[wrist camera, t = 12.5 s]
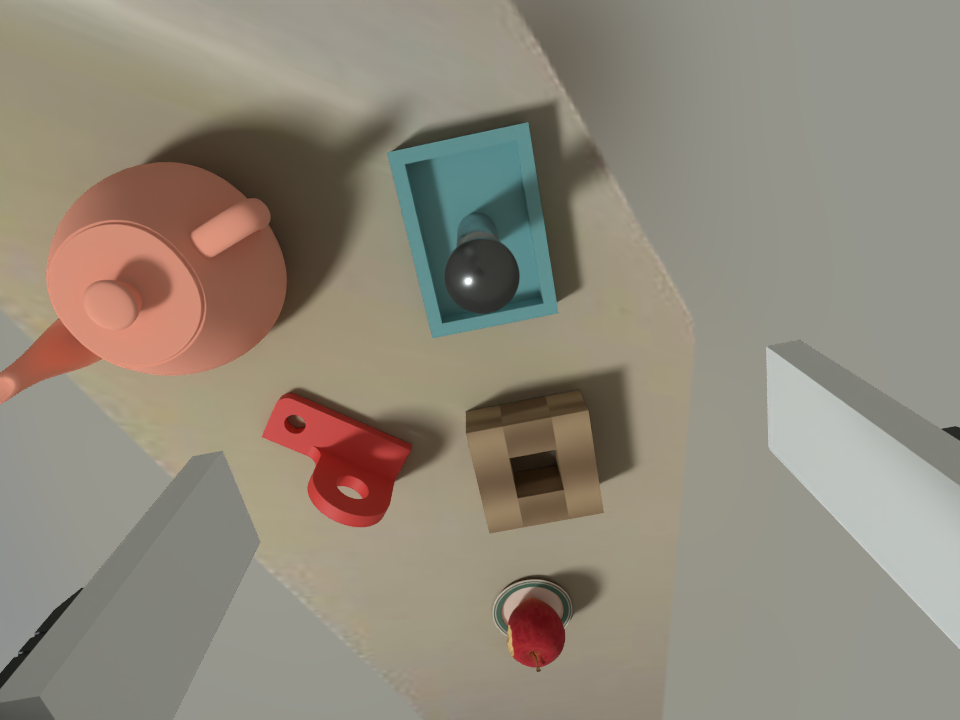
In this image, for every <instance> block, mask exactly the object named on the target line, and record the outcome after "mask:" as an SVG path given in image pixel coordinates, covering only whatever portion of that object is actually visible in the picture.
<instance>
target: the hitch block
mask: <svg viewBox="0 0 960 720" xmlns="http://www.w3.org/2000/svg"><path fill="white" fill-rule="evenodd" d="M466 436H467V440H468V444H469V448H470V453H471V457H472V461H473V465H474V469H475V474H476V478H477V482H478V486H479V491H480V495H481V499H482V503H483V508H484V512H485V516H486V520H487V524H488V529H489V533H494V532H500V531H505V530H511V529H516V528H522V527H527V526H533V525H539V524H544V523H550V522H555V521H561V520H566V519H572V518H577V517H583V516H588V515H594V514H599V513H604V512H603V505H602V498H601V491H600V485H599V478H598V471H597V464H596V458H595V451H594V444H593V437H592V431H591V424H590V417H589V410H588V408H587V406H586V404H585V401H584V399H583V397H582V394H581V392H580V390H576V391H570V392H565V393H560V394H555V395H550V396H544V397H539V398H534V399H529V400H523V401H518V402H513V403H508V404H503V405H497V406H492V407H487V408H482V409H476V410H471V411H466ZM551 450H555V455H556V461H557V465H555V466H549V467H544V468H538V469H533V470H528V471H522V472H517V473H514V471H513V466H512V461H511V458H514V457H519V456H524V455H530V454H535V453H540V452H546V451H551Z"/></svg>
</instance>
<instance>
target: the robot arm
mask: <svg viewBox="0 0 960 720" xmlns="http://www.w3.org/2000/svg"><path fill="white" fill-rule="evenodd" d="M766 354H767V355H766V356H767V401H768V443H769V444H768V445H769V449H770V450H771V451H772V452H773V453H774V454H775V456H777V458H778V459H779V460H780V461H781V462H782V463H783V464H784V465H785V466H786V467H787V468H788V469H789V470H790V471H791V472H792V473H793V474H794V475H795V477H796V478H797V479H798V480H799V481H801V483H802V484H803V485H804V486H805V487H806V488H807V489H808V490H809V491H810V492H811V493H812V494H813V495H814V497H815V498H816V499H817V500H818V501H819V502H820V503H821V504H822V505H823V506H824V507H825V508H826V509H827V510H828V511H829V512H830V513H831V514H832V515H833V517H834V518H835V519H836V520H837V521H838V522H839V523H840V524H841V525H842V526H843V527H844V528H845V529H846V530H847V531H848V532H849V533H850V534H851V535H852V536H853V538H854V539H855V540H856V541H857V542H858V543H859V544H860V545H861V546H862V547H863V548H864V549H865V550H866V551H867V552H868V553H869V554H870V555H871V556H872V557H873V559H874V560H875V561H876V562H877V563H878V564H879V565H880V566H881V567H882V568H883V569H884V570H885V571H886V572H887V573H888V574H889V575H890V576H891V577H892V578H893V580H894V581H895V582H896V583H897V584H898V585H899V586H900V587H901V588H902V589H903V590H904V591H905V592H906V593H907V594H908V595H909V596H910V597H911V598H912V600H913V601H914V602H915V603H916V604H917V605H918V606H919V607H920V608H921V609H922V610H923V611H924V612H925V613H926V614H927V615H928V616H929V617H930V618H931V620H932V621H933V622H935V624H936V625H937V626H938V627H939V628H940V629H941V630H942V631H943V632H944V633H945V634H946V635H947V636H948V637H949V638H950V639H951V641H952V642H953V643H954V644H955V645H956V646H957V647H958V648H959V649H960V428H959V427H956V426H955V427H949V428H944V429H940V428H939V427H937V426H935V425H934V424H932V423H931V422H929V421H927V420H926V419H924V418H923V417H921V416H920V415H918V414H916V413H915V412H913V411H912V410H910V409H908V408H907V407H905V406H903V405H902V404H900V403H899V402H897V401H896V400H894V399H893V398H891V397H889V396H888V395H886V394H884V393H883V392H881V391H880V390H878V389H877V388H875V387H874V386H872V385H870V384H869V383H867V382H866V381H864V380H862V379H861V378H859V377H857V376H856V375H854V374H853V373H851V372H850V371H848V370H847V369H845V368H843V367H842V366H840V365H839V364H837V363H835V362H834V361H832V360H831V359H829V358H828V357H826V356H824V355H823V354H821V353H820V352H818V351H816V350H815V349H813V348H812V347H810V346H809V345H807V344H805V343H804V342H802V341H801V340H797V341H791V342H786V343H781V344H775V345H770V346H766ZM259 544H260V540H259V537H258V535H257V532H256V530H255V528H254V525H253V523H252V520H251V518H250V516H249V513H248V511H247V508H246V506H245V504H244V501H243V499H242V496H241V494H240V492H239V489H238V487H237V484H236V482H235V479H234V477H233V475H232V472H231V470H230V467H229V465H228V463H227V460H226V458H225V455H224V453H223V451H219V452H214V453H209V454H204V455H199V456H193V457H192V458H191V459H190V460H189V461H188V463H187V464H186V465H185V466H184V467H183V469H182V470H181V471H180V472H179V474H178V475H177V476H176V477H175V478H174V480H173V481H172V482H171V483H170V484H169V486H168V487H167V488H166V489H165V490H164V492H163V493H162V494H161V495H160V497H159V498H158V499H157V500H156V501H155V503H154V504H153V505H152V506H151V507H150V509H149V510H148V511H147V512H146V513H145V515H144V516H143V517H142V518H141V520H140V521H139V522H138V523H137V524H136V526H135V527H134V528H133V529H132V530H131V532H130V533H129V534H128V535H127V536H126V538H125V539H124V540H123V541H122V542H121V544H120V545H119V546H118V547H117V549H116V550H115V551H114V552H113V554H112V555H111V556H110V557H109V558H108V559H107V561H106V562H105V563H104V564H103V566H102V567H101V568H100V569H99V570H98V572H97V573H96V574H95V575H94V576H93V578H92V579H91V580H90V581H89V582H88V584H87V585H86V586H85V587H84V588H81V589H80V590H78V591H77V592H76V593H75V594H73V595H72V596H71V597H70V598H68V599H67V600H66V601H65V602H63V603H62V604H61V605H60V606H59V607H57V608H56V609H55V610H54V611H53V612H52V613H51V614H50V616H49V617H48V618H47V619H46V620H45V621H44V623H43V624H42V625H41V626H40V627H39V629H38V630H37V631H36V632H35V637H32V638H30V639H29V640H28V642H27V643H26V644H25V645H24V646H23V647H22V649H21V650H20V651H19V652H18V657H14V658H13V659H12V660H11V662H10V663H9V664H8V665H7V666H6V667H5V668H4V670H3V671H2V672H1V673H0V720H173V718H174V716H175V714H176V712H177V710H178V708H179V706H180V704H181V701H182V700H183V698H184V696H185V694H186V692H187V690H188V688H189V686H190V683H191V682H192V680H193V677H194V675H195V673H196V671H197V669H198V667H199V665H200V663H201V661H202V659H203V657H204V655H205V653H206V651H207V649H208V647H209V645H210V643H211V641H212V639H213V637H214V635H215V633H216V631H217V629H218V626H219V625H220V623H221V621H222V619H223V616H224V615H225V612H226V610H227V608H228V606H229V604H230V602H231V600H232V598H233V596H234V594H235V592H236V590H237V588H238V586H239V584H240V582H241V580H242V578H243V576H244V574H245V572H246V570H247V568H248V566H249V564H250V562H251V560H252V558H253V556H254V554H255V552H256V550H257V548H258V546H259Z"/></svg>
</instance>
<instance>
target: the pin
mask: <svg viewBox="0 0 960 720" xmlns="http://www.w3.org/2000/svg"><path fill="white" fill-rule="evenodd" d="M519 280H520V273H519V268H518V264H517V262H516V259H515V257H514V255H513V253H512V252H511V251H510V250H509V249H508V248H507V247H506V246H505V245H504V244H503V243H501V242H500V239H499V236H498V232H497V229H496V226H495V224H494V222H493V221H492V219H491V218H490V217H488V216H487V215H485V214H482V213H472V214H469V215H467V216H466V217H464V218H463V219H462V221H461V222H460V224H459V226H458V231H457V244H456V248H455V249H454V251H453V252H452V253H451V255H450V257H449V258H448V261H447V264H446V269H445V285H446V288H447V291H448V293H449V295H450V297H451V298H452V299H453V301H454V302H455V303H456V304H457V305H459V306H460V307H461V308H463V309H465V310H467V311H470V312H473V313H480V314H484V313H491V312H494V311H497V310H499V309H501V308H503V307H504V306H505V305H507V304H508V303H509V302H510V301H511V299H512V298H513V297H514V295H515V293H516V291H517V289H518V285H519Z"/></svg>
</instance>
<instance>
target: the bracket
mask: <svg viewBox="0 0 960 720" xmlns="http://www.w3.org/2000/svg"><path fill="white" fill-rule="evenodd" d="M290 415H298V416H300V417H301V418H303V419H304V421H305V424H306V426H305V427H303V428H295V427H293V426H291V425H290V424H289V422H288V419H287V417H288V416H290ZM262 437H263V438H266V439H268V440H270V441H273V442H275V443H278V444H280V445H282V446H285V447H287V448H290V449H292V450H295V451H297V452H299V453H302V454H304V455H307V456H309V457H310V458H312V459H313V460H314V462H315V464H316V467H315V469H314V472H313V474H312V476H311V478H310V481H309V483H308V494H309V497H310V499H311V501H312V503H313V504H314V505H315V507H316V508H317V509H318V510H319V511H320V512H322V513H323V514H324V515H326V516H327V517H329V518H330V519H332V520H334V521H336V522H339V523H341V524H344V525H348V526H353V527H368V526H372V525H374V524H376V523H378V522H379V521H380V520H381V519H382V518H383V516H384V514H385V512H386V511H387V509H388V507H389V505H390V501H391V496H392V491H393V486H394V481H395V479H396V477H397V475H398V473H399V471H400V470H401V468H402V466H403V464H404V462H405V460H406V458H407V457H408V455H409V453H410V451H411V447H412V444H409V443H407V442H405V441H402V440H400V439H398V438H395V437H393V436H391V435H388V434H386V433H384V432H382V431H379V430H377V429H375V428H372V427H370V426H368V425H365V424H363V423H361V422H358V421H356V420H354V419H351V418H349V417H347V416H345V415H342V414H340V413H338V412H335V411H333V410H331V409H328V408H326V407H324V406H321V405H319V404H317V403H315V402H312V401H310V400H308V399H305V398H303V397H301V396H298V395H296V394H292V393H288V394H285V395H283V396H282V397H281V398H280V399H279V400H278V402H277V403H276V405H275V407H274V410H273V412H272V414H271V417H270V419H269V421H268V423H267V426H266V428H265V430H264V433H263V435H262ZM337 486H346V487H350V488H352V489H354V490H355V491H357V492H358V493H359V494H360V495H361V497H362V498H363V499H353V498H350V497H348V496H346V495H344V494H343V493H342V492H340V490H339V489H338V488H337Z"/></svg>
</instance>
